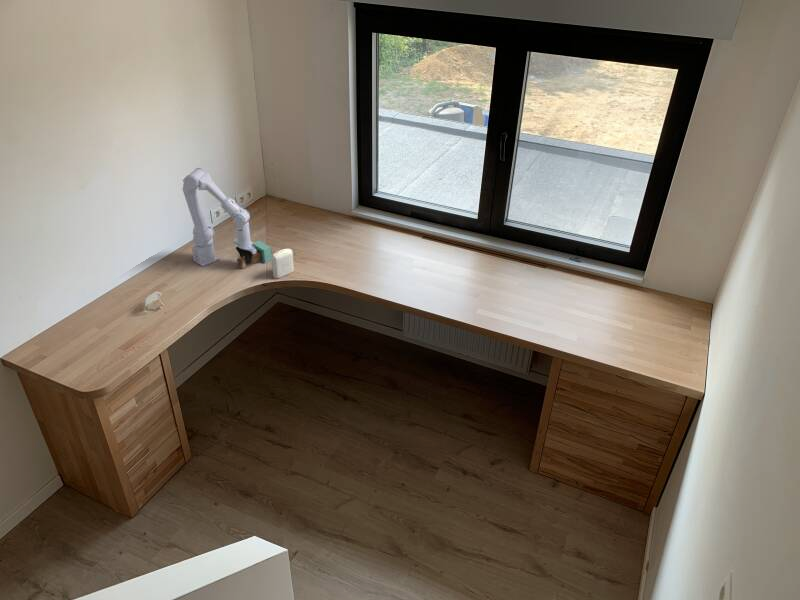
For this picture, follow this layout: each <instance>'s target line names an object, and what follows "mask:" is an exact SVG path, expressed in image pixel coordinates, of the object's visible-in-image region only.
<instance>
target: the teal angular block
mask: <svg viewBox="0 0 800 600" xmlns="http://www.w3.org/2000/svg"><path fill="white" fill-rule="evenodd" d="M253 242H254V243H253V244H252V245H253V247H254V248H255V249H256V251H258V250H260V251H262V261H261V262H263V263H264V264H266V263H269V262H272V255H273V254H271V251H272V248H271V246H269V245H267V244H266V243H264V242H262V241H261V240H257V241H253Z"/></svg>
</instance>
